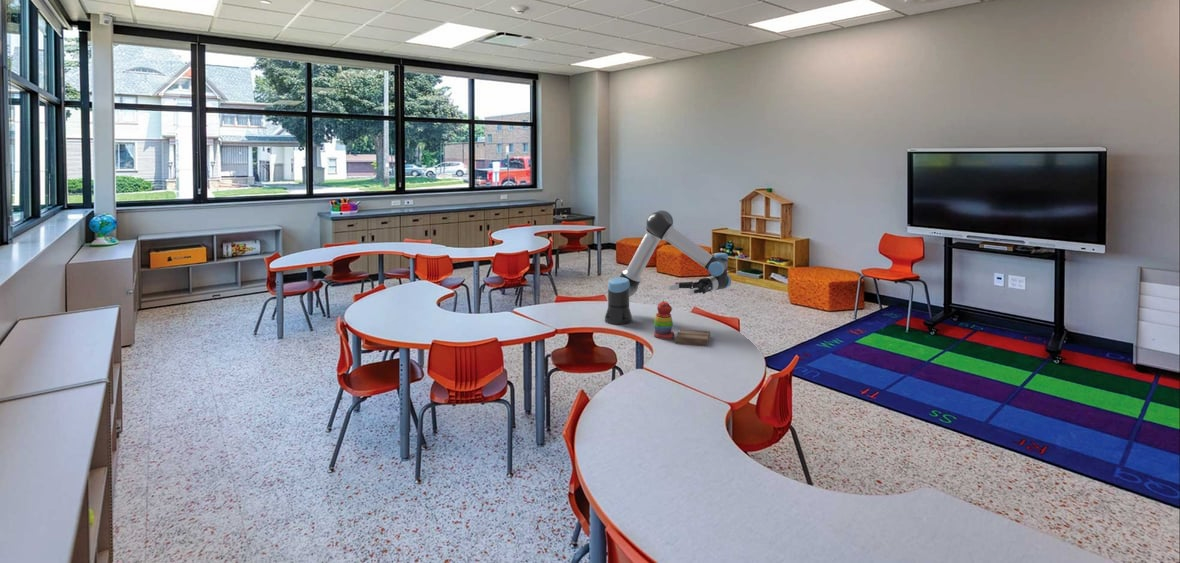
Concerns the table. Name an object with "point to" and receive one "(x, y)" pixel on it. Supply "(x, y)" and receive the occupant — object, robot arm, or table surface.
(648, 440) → the table surface
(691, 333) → the walnut plinth
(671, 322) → the stacking bear
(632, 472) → the table surface
